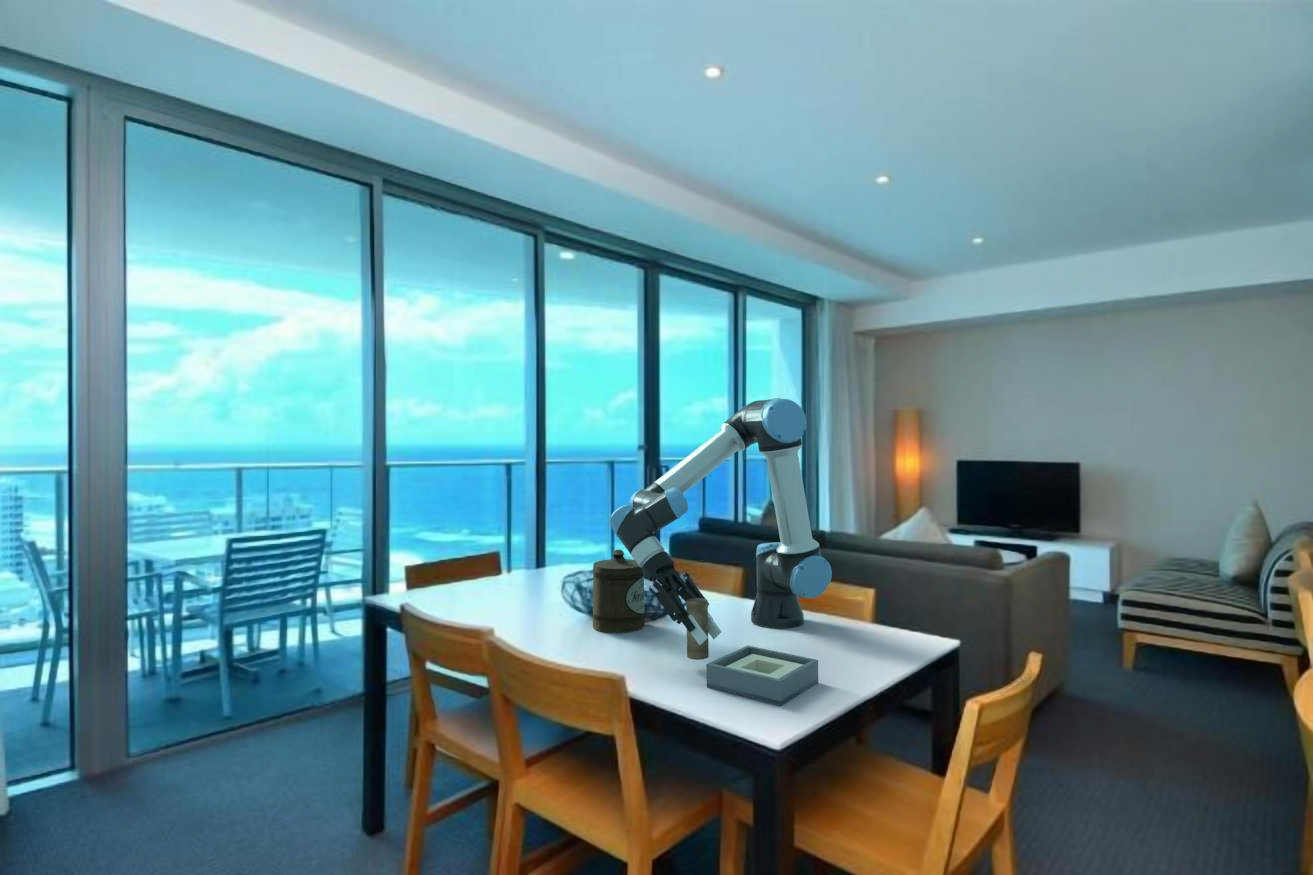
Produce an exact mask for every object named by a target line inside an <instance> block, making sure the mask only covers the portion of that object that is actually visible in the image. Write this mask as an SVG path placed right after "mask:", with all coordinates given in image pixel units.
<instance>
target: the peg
mask: <svg viewBox="0 0 1313 875" xmlns="http://www.w3.org/2000/svg"><path fill="white" fill-rule="evenodd" d="M708 601H709V600H708V599H706V598H705V599H703V598H691V599H687V600H686V602H685V609H686V611H687V613H688V616H689V615H692V616H693V617H694V619H695V620H696V622H697V623H698V624H699V626H700V627H701V628H702V630H703V631H704V633H705V634H706V635H707V637H708V638H707V639H706V640H705V641H704V642H703V643H702V644H701V645H699V644H698V643H697V641H696V640H695V638H694V637H693V636H692V634H691V633H690V632H689V631H688V630H687V629H686V657H687V658H688V659H690V660H698V661H699V660H700V661H701V660H702V661H703V660H706V659H708V658H709V657H710V656H709V655H710V654H709V651H710V650H709V633H708V613H709V605H708V603H709V602H708Z"/></svg>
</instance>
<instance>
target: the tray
mask: <svg viewBox="0 0 1313 875" xmlns="http://www.w3.org/2000/svg"><path fill="white" fill-rule="evenodd" d="M705 666H706V688H708V689H713V690H717V691H719V692H720V691H721V692H724V693H727V694H733V695H736V696H739V697H744V698H748V699H752V700H755V701H759V702H764V703H767V704H769V705H770V704H771V705H775V706H778V707H782V706H783V705H785V704H786V703H788V702H789V701H791V700H793V699H795V698H796V697H798V696H800V695H801V694H803V693H804V692H806V691H808V690H809V689H810V688H812V687H814V686H815V685H818V683H819V659H815V658H810V657H807V656H801V655H795V654H792V653H786V652H781V651H775V650H771V649H767V648H762V647H756V646H752V645H746V646H743V647H741V648H739V649H736V650H735V651H731V653H728V654H725V655H723V656H721V657H719V658H716V659H715V660H713V661H710V662H708V663H706V665H705Z"/></svg>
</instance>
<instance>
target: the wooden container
mask: <svg viewBox="0 0 1313 875" xmlns="http://www.w3.org/2000/svg"><path fill="white" fill-rule="evenodd" d="M611 554H612V556H613V557H612V558H610V559H601V560H598V561H595V562H594V563H593V565H592V627H593V629H594V630H596V631H597V632H601V633H605V634H606V633H608V634H623V633H624V634H625V633H633V632H637V631H639V630H641V629H643V628H644V627H645V574H644V573H643V571H642V568H640V567H639V565H638V564H637V562H636V561H635V560H634V558H632V559H631V558H625V556H624V555H625V551H623V550H622V549H615V550H613V551H612V553H611Z"/></svg>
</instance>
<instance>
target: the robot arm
mask: <svg viewBox="0 0 1313 875" xmlns="http://www.w3.org/2000/svg"><path fill="white" fill-rule="evenodd" d="M806 428H807V417H806V414H805V412H804V410H803V408H802V407H801V406H800V404H798V403H796V401H793V400H792V399H789V398H780V397H778V398H777V397H775V398H771V399H762V400H761V399H759V400H754V401H751V402H750V403H748V404H745V405H744V406H743V407H741V409H739V410H738V411H736V413H734V414H733V415H732V416H730V417H729V418H728V419H727V420H726V421H724V422H723V423H722V424H721V425H720V430H719V431H717V432H716V433H714V435H712V436H711V437H710V438H708V439H707V440H706V441H704V443H702V444H701V445H700V446H699V447H697V448H696V449H695V450H693V451H692V452H691V453H690V454H688V455H687V456H686V457H684V458H683V459H682V460H681V461H679V462H678V463H677V464H675V465H674V466H673V467H672V468H671V469H669V470H668V471H666V473H664V474H662V476H660V477H659V478H658V479H656V480H655V481H654V482H653V483H652V484H650V485H649V486H647V487H645V489H640V490H637V491H635V492H634V493H633V494H632V495H631V497H630V500H629V503H628V504H625V505H622V506H620V507H618V508H617V509H616V510H614V511H613V512H612V513H611V515H610V517H609V520H608V521H609V522H608V523H609V526H610V527H611V528H612V530H613V532H614V533H615V535H616V537H617V538H618V539H619V541H620V542H621V544H622V545H623V546H624V547H625V549H626V550H627V552H629V554H630V556H631V557H632V559H633V560H635V561H636V562H637V564H638V565H639V567H640V568H642V571H643V573H644V576H645V577H646V578H647V580H648V581H649V582H652V584H651V585H650V586H649V588H648V591H650V592H651V594H653V595H654V596H655V597H656V599H657V600H658V602H659V603H660V604H661V606H662V608H663V609H664V610H665V612H666V613H667V615H668V616H669V618H670V619H671V620H672V621H673V622H676V623H677V624H678V625H681V623H682V625H683V626H684V627H685V629H686V631H687V630H688V631H689V632H690V633H691V634H692V636H693V637H694V638H695V640H696V641H697V643H698V644H699V645H701V644H702V643H703V642H704V641H705V640H706V639H707V638H708V639H709V636H708V637H707V635H706V634H705V633H704V631H703V630H702V628H701V627H700V626H699V624H698V623H697V622H696V620H695V619H694V617H693V616H692V615H689V616H688V613H687V611H686V606H685V605H684V603H683V602H682V600H681V598H682V599H683V601H684V602H685V603H686V600H687V599H691V598H703V599H706V597H705V596H704V595H703V593H702V592H701V591H700V589H699V588H698V586H697V585H696V584H695V582H693V580H692V579H691V577H690V574H689V573H688V572H684V574H680V572H678V570H676V569H675V562H674V560H673V558H672V557H671V556H670V554H669V553H668V552H667V551H666V550H665V547H664V546H663V545H662V543H661V542H660V541H659V539H658V538H657V537H656V535H655V533H657V532H658V531H660V530H662V529H663V528H664V527H666V526H668V525H670V524H672V523H673V522H675V521H676V520H679V519H680V518H681V517H682V516H683V515H685V514H686V513H688V511H689V503H688V501H687V499H686V496H685V495H684V494H685V493H686V492H687V491H689V490H690V489H692V488H693V487H694V486H695V485H696V484H698V483H699V482H701V481H702V480H703V479H704V478H705V477H707V476H709V474H710V473H711V472H712V471H714V470H716V468H718V467H719V466H721V464H723V463H724V462H725V461H726V460H728V459H729V458H730V457H732V456H733V455H734V454H735V453H736V452H744V451H745V450H746V449H748V448H749V447H750V446H752V445H755V444H757V445H758V452H759V453H760V455H763V456H764V458H765V460H766V466H767V471H768V476H769V477H768V478H769V482H770V489H771V493H772V494H771V495H772V499H773V506H774V511H775V517H776V523H777V530H778V534H779V535H778V536H779V540H780V542H778V541H777V542H764V543H759V544H758V545H757V547H756V551H755V559H756V563H755V564H756V567H755V568H756V595H755V596H756V597H755V599H754V602H753V605H752V609H751V613H750V622H751V623H752V624H754V625H756V626H759V627H764V628H769V629H771V628H773V629H789V628H791V629H792V628H796V627H800V626H802V625H803V624H804V623H805V622H804V621H805V620H804V619H805V616H804V613H803V609H802V607H801V606H802V605H801V603H800V598H806V599H814V598H817V597H819V596H821V595H822V594H824V592H826V590H827V588H828V587H829V586H830V584H831V581H832V577H833V575H832V573H833V571H832V567H831V565H830V563H829V561H827V559H826V558H825V557H823V556H822V553H821V549H820V548H821V547H820V543H819V542H818V541H817V540H815V539H814V538H813V534H812V527H811V523H810V522H811V521H810V516H809V510H808V505H807V504H808V503H807V500H806V492H805V488H804V481H803V475H802V470H801V464H800V458H799V451H800V450H801V448H802V446H803V442H802V437H803V435H804V432H805V431H806V430H807V429H806ZM799 597H800V598H799ZM708 606H710V603H709V602H708ZM721 633H722V630H721V629H720V628H719V626H718V624H717V623H716V622H715V621H714V618H713V617H712V616H711V614H710V613H709V612H708V635H710V637H711V638H712V639H713V640H715V639H717V637H718V636H719V635H720V634H721Z"/></svg>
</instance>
